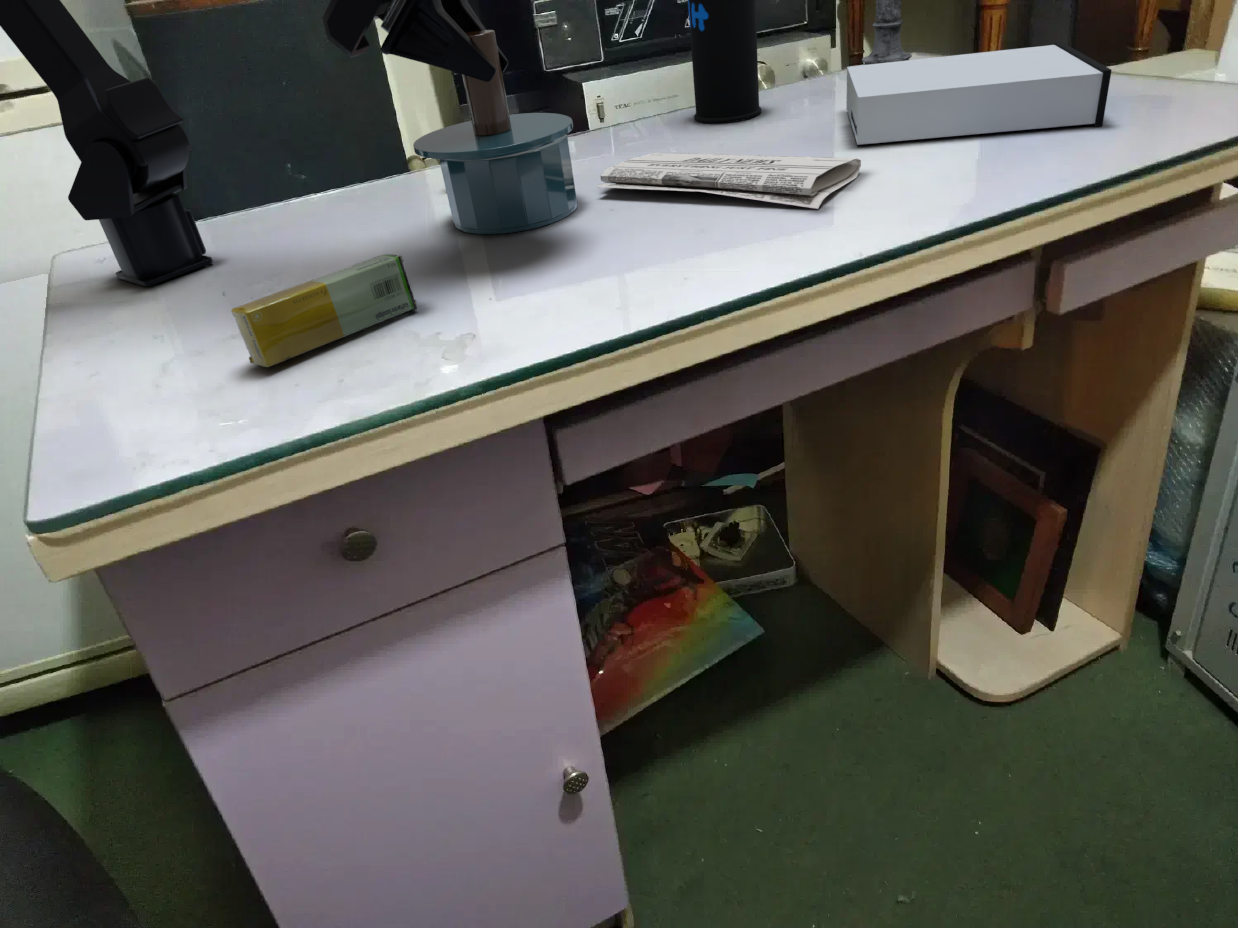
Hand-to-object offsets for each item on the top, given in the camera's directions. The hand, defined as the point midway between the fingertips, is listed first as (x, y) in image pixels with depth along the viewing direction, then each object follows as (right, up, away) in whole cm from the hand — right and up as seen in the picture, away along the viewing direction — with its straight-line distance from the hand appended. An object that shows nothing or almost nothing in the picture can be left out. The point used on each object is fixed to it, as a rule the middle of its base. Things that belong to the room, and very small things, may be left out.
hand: (499, 72), depth 66 cm
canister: (-1, -6, +16) cm, 17 cm away
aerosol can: (+22, +13, +41) cm, 49 cm away
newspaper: (+19, -4, +15) cm, 25 cm away
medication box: (-11, -21, -5) cm, 24 cm away
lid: (-1, -4, +3) cm, 5 cm away
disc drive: (+45, +7, +26) cm, 52 cm away
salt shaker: (+42, +17, +43) cm, 63 cm away
